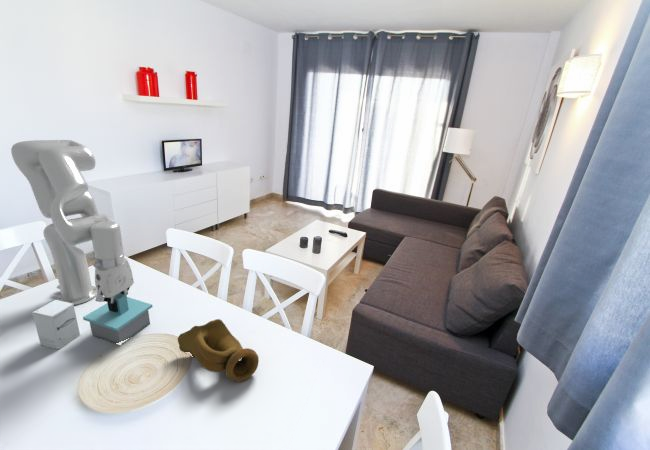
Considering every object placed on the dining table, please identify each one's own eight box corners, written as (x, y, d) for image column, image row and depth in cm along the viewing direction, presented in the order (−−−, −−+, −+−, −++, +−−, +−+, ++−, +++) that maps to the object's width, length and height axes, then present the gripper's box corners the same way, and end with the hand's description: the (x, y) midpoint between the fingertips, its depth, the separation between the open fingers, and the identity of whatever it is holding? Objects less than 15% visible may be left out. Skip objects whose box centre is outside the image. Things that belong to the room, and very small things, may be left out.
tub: (92, 335, 104) (88, 318, 102) (123, 315, 115) (121, 299, 113) (120, 345, 101) (117, 328, 99) (150, 323, 112) (148, 307, 110)
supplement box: (59, 350, 97) (50, 317, 93) (39, 345, 99) (30, 312, 94) (81, 334, 104) (74, 303, 100) (62, 330, 105) (55, 298, 101)
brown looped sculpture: (236, 312, 111) (265, 340, 95) (228, 347, 112) (256, 381, 95) (183, 313, 99) (205, 346, 83) (174, 352, 100) (195, 392, 83)
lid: (84, 323, 102) (79, 301, 99) (122, 300, 114) (118, 280, 111) (117, 335, 98) (113, 312, 95) (152, 310, 111) (150, 290, 108)
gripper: (94, 274, 90) (104, 325, 97) (141, 252, 105) (147, 298, 111) (75, 268, 92) (86, 319, 98) (123, 247, 107) (130, 293, 113)
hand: (118, 307), depth 105 cm, fingers closed on lid, 3 cm apart
